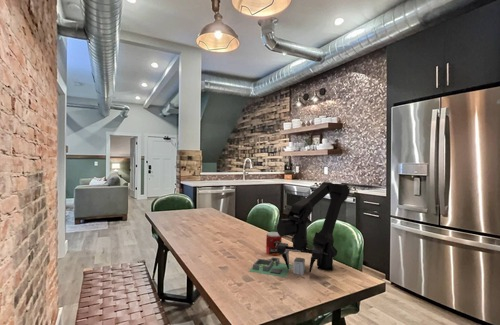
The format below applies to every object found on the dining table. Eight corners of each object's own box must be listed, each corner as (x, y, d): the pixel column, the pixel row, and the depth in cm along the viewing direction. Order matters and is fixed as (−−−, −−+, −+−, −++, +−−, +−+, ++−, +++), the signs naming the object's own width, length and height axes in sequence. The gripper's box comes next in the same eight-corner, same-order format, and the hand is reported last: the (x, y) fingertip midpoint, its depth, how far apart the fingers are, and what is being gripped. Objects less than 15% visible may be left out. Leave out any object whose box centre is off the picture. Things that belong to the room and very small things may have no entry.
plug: (304, 272, 121) (304, 258, 121) (302, 277, 115) (302, 262, 115) (295, 271, 122) (295, 256, 122) (292, 276, 117) (293, 261, 117)
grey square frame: (273, 265, 126) (273, 260, 126) (268, 271, 118) (268, 267, 118) (258, 263, 128) (258, 258, 128) (252, 269, 121) (253, 264, 121)
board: (292, 266, 127) (292, 260, 127) (285, 279, 113) (285, 272, 113) (259, 261, 132) (259, 255, 132) (248, 273, 118) (248, 266, 118)
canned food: (269, 258, 137) (269, 236, 137) (263, 253, 145) (264, 232, 145) (283, 257, 139) (284, 235, 139) (277, 252, 147) (278, 231, 147)
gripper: (324, 231, 123) (323, 266, 124) (282, 227, 130) (281, 260, 130) (321, 237, 113) (321, 276, 113) (276, 232, 119) (275, 269, 119)
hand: (299, 270), depth 119 cm, fingers open, 9 cm apart
